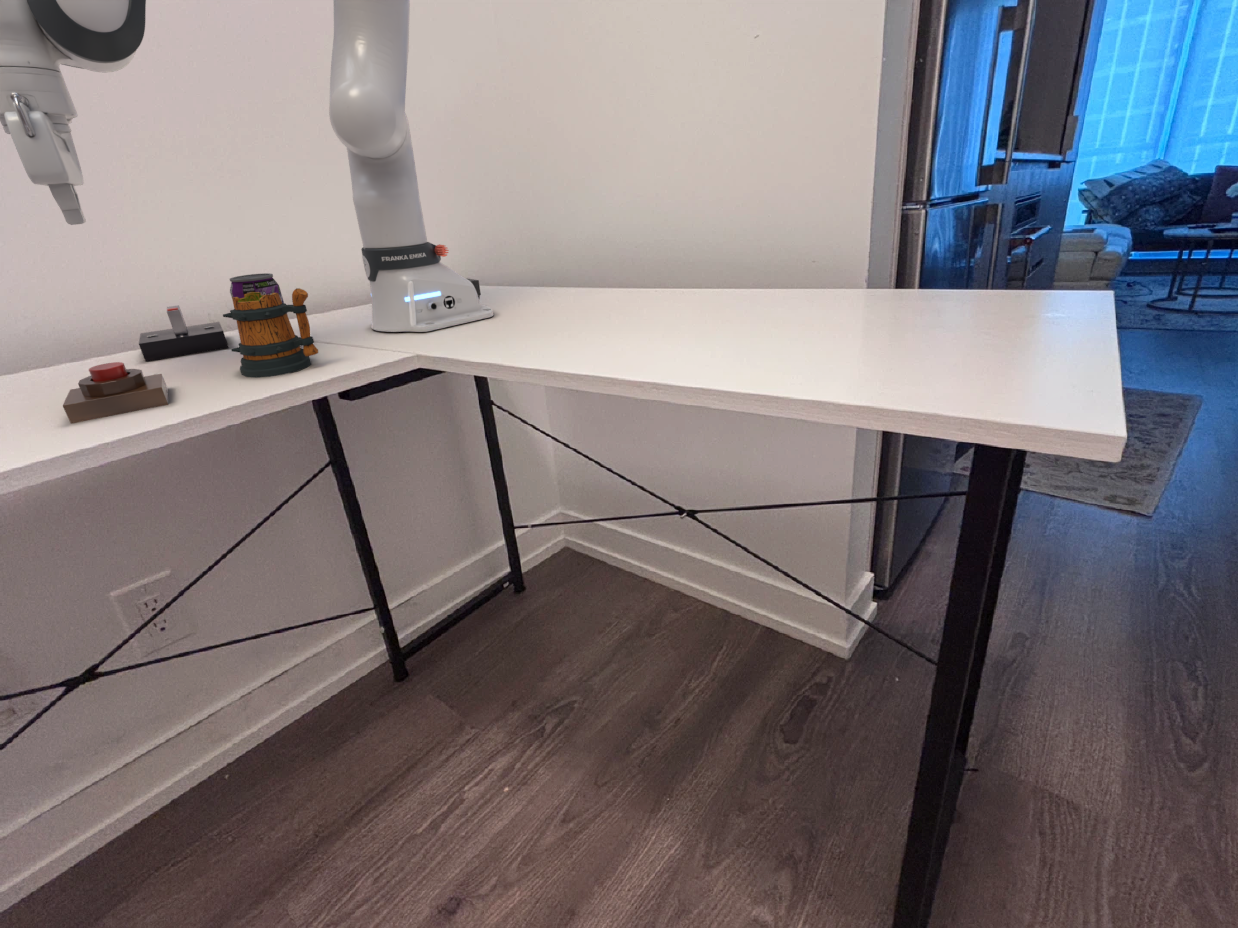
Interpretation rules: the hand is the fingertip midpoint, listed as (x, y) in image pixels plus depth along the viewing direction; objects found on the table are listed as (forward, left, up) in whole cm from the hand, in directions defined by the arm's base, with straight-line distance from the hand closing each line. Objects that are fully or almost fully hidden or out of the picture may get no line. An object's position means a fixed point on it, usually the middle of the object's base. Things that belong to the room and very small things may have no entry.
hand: (77, 224), depth 80 cm
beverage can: (-18, -7, -22) cm, 29 cm away
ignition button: (+2, +11, -18) cm, 21 cm away
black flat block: (-6, -20, -22) cm, 30 cm away
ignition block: (+2, +11, -22) cm, 24 cm away
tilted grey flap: (-6, -20, -19) cm, 28 cm away
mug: (-18, +7, -22) cm, 29 cm away
